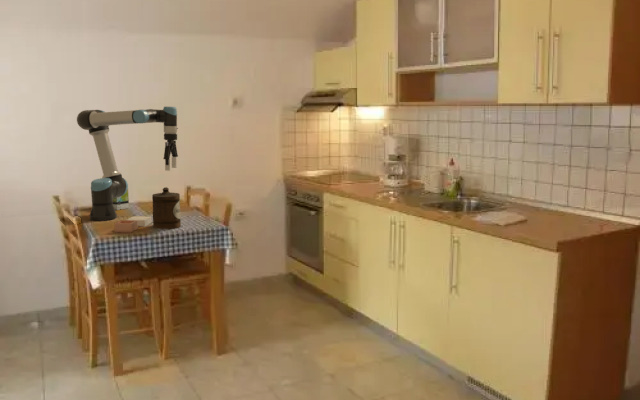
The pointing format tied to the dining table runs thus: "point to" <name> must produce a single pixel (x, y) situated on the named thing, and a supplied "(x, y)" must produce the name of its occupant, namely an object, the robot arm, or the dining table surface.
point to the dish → (126, 226)
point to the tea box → (121, 202)
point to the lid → (141, 220)
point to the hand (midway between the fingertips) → (170, 169)
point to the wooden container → (166, 210)
